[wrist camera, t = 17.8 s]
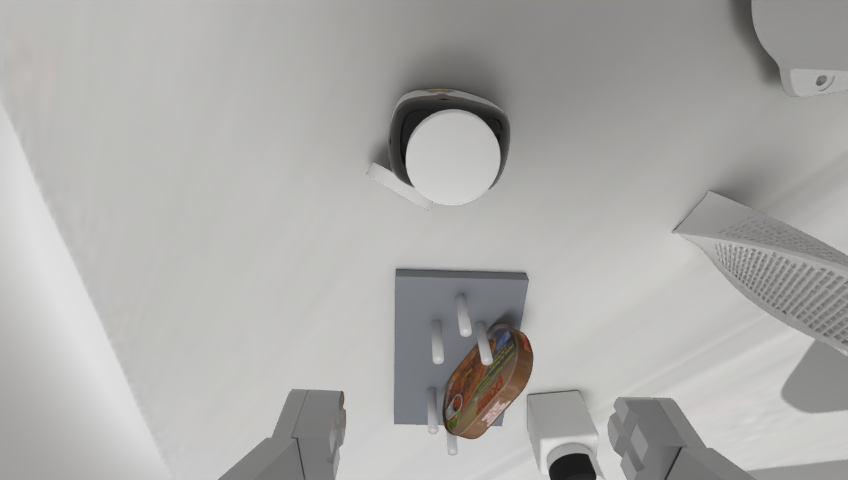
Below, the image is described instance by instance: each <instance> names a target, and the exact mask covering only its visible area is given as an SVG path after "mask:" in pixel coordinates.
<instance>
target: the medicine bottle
mask: <svg viewBox="0 0 848 480" xmlns="http://www.w3.org/2000/svg"><path fill="white" fill-rule="evenodd" d="M528 433H529V437H530V440H531V444H532V447H533V451H534V455H535V458H536V462H537V465H538V469H539V473H540V474H541V475H549V476H550V479H551V480H605V478H604V476H603V473H602V471H601V469H600V466H599V464H598V461H597V459H596V456H597V447H598V439H599V434H598V432H597V430H596V427H595V425H594V423H593V421H592V419H591V416H590V414H589V412H588V410H587V408H586V405H585V403H584V401H583V399H582V397H581V394H580V392H579V391H569V392H558V393H547V394H536V395H529V396H528Z"/></svg>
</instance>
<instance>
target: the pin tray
mask: <svg viewBox="0 0 848 480" xmlns="http://www.w3.org/2000/svg"><path fill="white" fill-rule="evenodd" d="M528 282H529V279H528V277H527V275H526V273H501V272H467V271H433V270H398V269H396V290H395V394H394V424H416V425H428V432H429V433H430V434H436V433H437V432H438V425H444V423H443V416H442V409H443V400H444V395H445V391H446V388H447V385H448V383H449V381H450V379H451V377H452V375H453V373H454V372H455V371H456V370H457V368H458V367H459V366H460V365H461V363H462V362H463V361H464V360H465V358H466V357H467V356H468V355H469V353H470V352H471V351H472V350H473V348H474V347H475V346H476V345H477V343H478V346H479V351H480V356H481V361H482V364H483V365H490V364H492V362H493V358H492V354H491V350H490V345H489V341H488V337H487V331H488V330H489V329H490V328H491V327H493V326H495V325H497V324H501V323H503V324H507V325H509V326H510V327H512V328H514V329H516V330H520V325H521V320H522V314H523V309H524V304H525V298H526V293H527V287H528ZM503 417H504V412H503V413H502V414H501V415H500V416H499V417H498V419H497V420H496V421H495V422H494V423H493V424H492V425H491V426H502V422H503ZM446 432H447V430H446ZM447 446H448V454H449V455H456V454H457V453H458V450H457V439H456V436H454V435H451V434H450V433H448V432H447Z"/></svg>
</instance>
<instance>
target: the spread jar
mask: <svg viewBox="0 0 848 480" xmlns="http://www.w3.org/2000/svg"><path fill="white" fill-rule="evenodd" d="M509 144H510V125H509V121H508V118H507V116H506V114H505V113H504V112H503V111H502V110H501V109H500V108H499V107H497V106H496V105H495V104H493V103H492V102H490V101H488V100H486V99H483V98H481V97H478V96H475V95H472V94H469V93H465V92H462V91H457V90H451V89H423V90H416V91H412V92H409V93H407V94H405V95H403V96H402V97H401V98H400V99H399V101H398V102H397V104H396V106H395V108H394V111H393V114H392V118H391V122H390V127H389V134H388V155H389V162H390V166H391V169H392V171H393V172H391V171H390V170H388V169H386V168H384V167H382V166H380V165H378V164H376V163H374V162H373V163H372V164H371V166H370V168H369V170H368V172H367V173H366V175H368V176H369V177H371V178H373V179H374V180H376V181H378V182H380V183H381V184H383V185H385V186H386V187H388V188H390V189H392V190H393V191H395V192H397V193H398V194H400V195H402V196H404V197H405V198H407V199H409V200H411V201H412V202H414V203H416V204H417V205H419V206H421V207H423V208H424V209H426V210H429V208H430V207H431V205H432V203H433V202H435V203H437V204H442V205H461V204H465V203H468V202H471V201H473V200H475V199H476V198H478V197H480V196H481V195H482V194H483V193H485V192H486V191H487V190H489V189H491V188H492V187H493V186H494V185H495V184H496V183H497V181H498V179H499V178H500V176H501V174H502V171H503V169H504V166H505V163H506V160H507V156H508V151H509Z"/></svg>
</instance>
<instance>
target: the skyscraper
mask: <svg viewBox="0 0 848 480" xmlns="http://www.w3.org/2000/svg"><path fill="white" fill-rule="evenodd" d="M706 194H707V195H706V196H705V197H704V198H703V200H702V201H701V202H700V203H699V204H698V205H697V206H696V207H695V209H694V210H693V211H692V212H691V213H690V214H689V215H688V216H687V217H686V219H685V220H684V221H683V222H682V223H681V224H680V225H679V226H678V228H677V229H676V230H673V231H672V233H673V234H679V235H680V236H682V237H684V238H686V239H687V240H689V241H691V242H693V243H694V244H696V245H698V246H699V247H701V248H702V249H703V250H704V252H705V253H706V255H707V256H708V257H709V259H710V260H711V261H712V262H713V264H714V265H715V266H716V267H717V268H718V270H719V271H720V272H721V273H722V274H723V275H724V276H725V278H726V279H727V280H728V281H729V282H730V283H731V284H732V285H733V286H734V287H735V288H736V289H737V290H739V291H740V292H741V293H742V294H743V295H744V296H745V297H747V298H748V299H749V300H750V301H752V302H753V303H754V304H756V305H757V306H758V307H760V308H761V309H763V310H764V311H766V312H767V313H769V314H770V315H772V316H773V317H775V318H777V319H778V320H780V321H782V322H783V323H785V324H787V325H789V326H791V327H793V328H795V329H797V330H798V331H800V332H802V333H804V334H806V335H809V336H811V337H813V338H815V339H817V340H820V341H822V342H824V343H827V344H829V345H831V346H833V347H834V348H836V349H837V350H839V351H840V352H841V353H843V354H844V355H846V356H847V357H848V256H847V255H845V254H844V253H842V252H840V251H838V250H836V249H835V248H833V247H831V246H829V245H827V244H825V243H824V242H822V241H820V240H818V239H816V238H814V237H812V236H810V235H808V234H806V233H804V232H802V231H800V230H798V229H796V228H794V227H792V226H790V225H787V224H785V223H783V222H781V221H779V220H777V219H774V218H772V217H770V216H768V215H766V214H763V213H761V212H759V211H756V210H754V209H752V208H749V207H747V206H745V205H742V204H740V203H738V202H735V201H733V200H730V199H728V198H726V197H723V196H721V195H718V194H716V193H713V192H711V191H708V192H707V193H706Z"/></svg>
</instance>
